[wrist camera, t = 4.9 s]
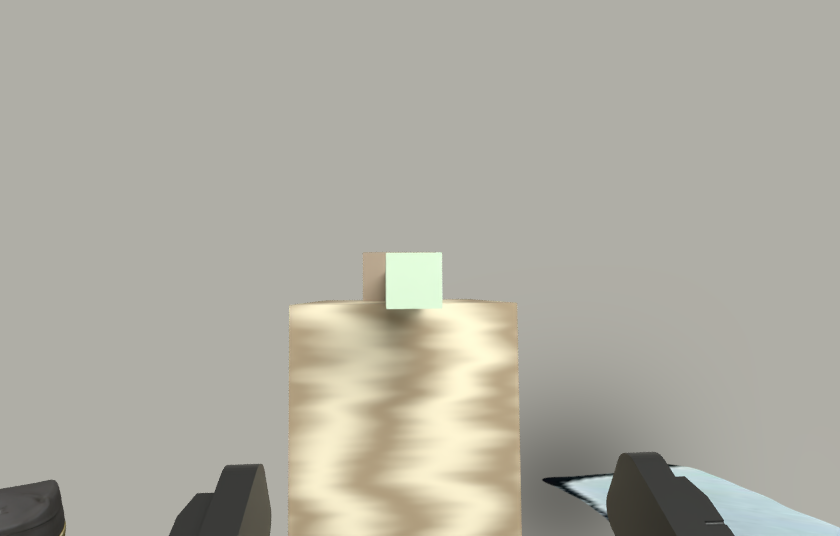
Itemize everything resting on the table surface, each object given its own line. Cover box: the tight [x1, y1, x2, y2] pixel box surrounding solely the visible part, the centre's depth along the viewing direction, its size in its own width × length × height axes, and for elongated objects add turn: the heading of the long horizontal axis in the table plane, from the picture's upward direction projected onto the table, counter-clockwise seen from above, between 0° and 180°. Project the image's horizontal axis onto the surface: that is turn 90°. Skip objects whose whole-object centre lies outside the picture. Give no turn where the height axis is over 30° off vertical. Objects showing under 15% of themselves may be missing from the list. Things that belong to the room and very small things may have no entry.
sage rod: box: [363, 252, 442, 309], centre depth 33 cm, size 6×24×4 cm, turn 4°
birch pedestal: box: [288, 299, 522, 536], centre depth 37 cm, size 14×18×32 cm
